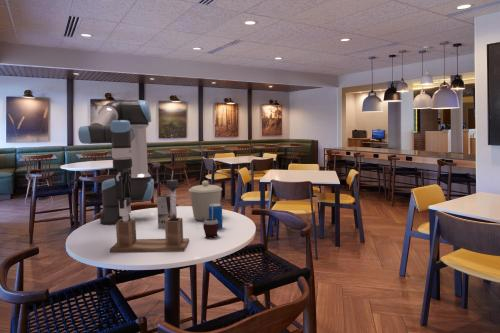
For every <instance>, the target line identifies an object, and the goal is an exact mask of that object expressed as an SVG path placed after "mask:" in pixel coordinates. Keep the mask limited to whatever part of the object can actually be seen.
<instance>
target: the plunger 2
mask: <svg viewBox="0 0 500 333" xmlns="http://www.w3.org/2000/svg"><path fill="white" fill-rule="evenodd" d="M166 188H167V189H169V194H170V210H171V221H177V218H178V216H177V215H178V214H177V193H176V192H177V191H176V189H178V188H179V180H178V179H167V180H166Z"/></svg>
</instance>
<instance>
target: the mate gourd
mask: <svg viewBox="0 0 500 333" xmlns="http://www.w3.org/2000/svg"><path fill="white" fill-rule="evenodd" d="M213 203H214V202H212V218H209V219H206V220H205V221H203V225H202V226H203V231H204V236H205V237H204V238H205V239H209V238H212V239H216V237H217V236H218V231H219V230H218V229H219V223H218V221H217V219H215V218H213Z"/></svg>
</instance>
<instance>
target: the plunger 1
mask: <svg viewBox="0 0 500 333" xmlns="http://www.w3.org/2000/svg"><path fill="white" fill-rule="evenodd" d="M125 200H126V209H127V216H122V217H123V222H129V215H130V214H129V215H128V206H130V204H131V201H130V197H125Z"/></svg>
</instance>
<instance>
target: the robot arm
mask: <svg viewBox="0 0 500 333" xmlns="http://www.w3.org/2000/svg"><path fill="white" fill-rule="evenodd" d="M149 105H150V104H149V103H148V101H147V100H141V99H129V100H128V99H127V100H126V99H125V100H124V99H119V100H118V99H117V100H113V101H109V102H107V103H106V104H104V105H102V107H100V108H99V110H98V111H97V115H96V117H95V118H94V119H93V120H92V122H91V123H89V125H81V126H79V128H78V132H77V133H78V134H77V135H78V140H79V142H80V143H81V144H85V145H87V144H88V145H91V144H93V145H94V144H95V145H96V144H98V145H99V144H101V145H102V144H111V158H113V159H112V168H113V169H116V171H117V172H116V175H114V176H113V178H107V179H106V180H103V181H102V183H101V195H102V196H101V197H102V198H101V200H102V211H101V215H100V217H99V222H100V224H101V225H105V226H106V225H111V226H112V225H116V222H117V221H119V220H120V219H123V217H122V216H127V209H126V200H125V197H130V202H140V201H141V202H145V201H150V200H152V198H153V195H154V187H155V186H154V185H155V179H153V178H152V175H151V174H150V173H149V171H148V170H149V168H148V150H147V149H148V148H147V144H148V143H147V128H148V127H149V123H151V122H152V115H151V109H150V106H149ZM129 169H130V170H131V171H130V170H129ZM131 214H132V208H131V203H130V206H128V215H129V219H131Z"/></svg>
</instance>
